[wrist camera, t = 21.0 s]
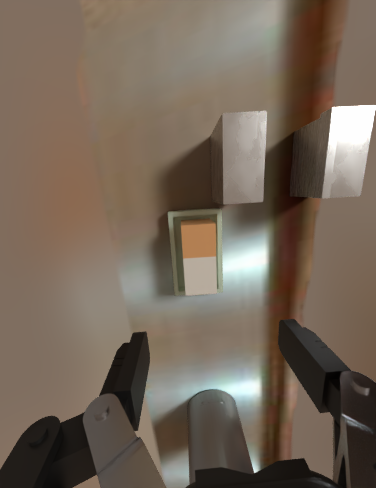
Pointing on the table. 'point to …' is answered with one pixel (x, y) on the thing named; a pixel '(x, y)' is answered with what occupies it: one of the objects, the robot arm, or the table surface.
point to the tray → (176, 244)
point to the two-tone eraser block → (199, 256)
